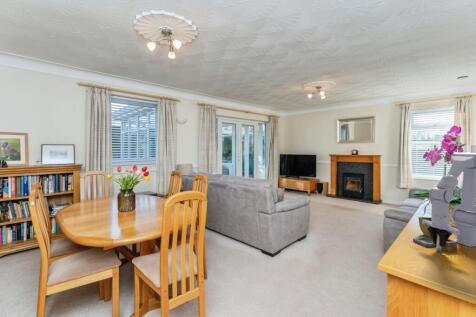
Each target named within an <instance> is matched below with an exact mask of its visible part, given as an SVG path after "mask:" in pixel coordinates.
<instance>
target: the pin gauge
mask: <svg viewBox="0 0 476 317" xmlns="http://www.w3.org/2000/svg"><path fill="white" fill-rule="evenodd" d="M435 248H436V249H435V251H436V252H437V253H443V249H442V247H441V246H440V245H439V235H438V233H437V237H436V246H435Z"/></svg>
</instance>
